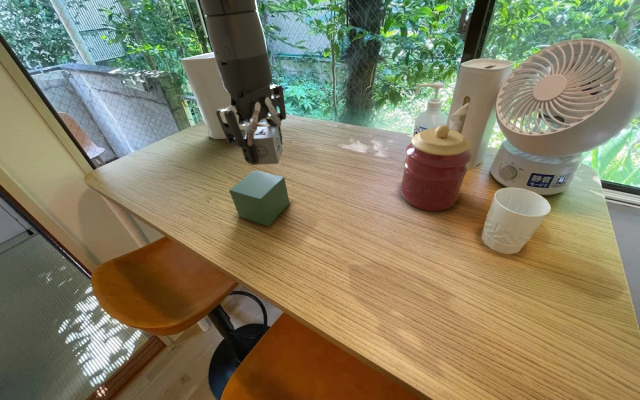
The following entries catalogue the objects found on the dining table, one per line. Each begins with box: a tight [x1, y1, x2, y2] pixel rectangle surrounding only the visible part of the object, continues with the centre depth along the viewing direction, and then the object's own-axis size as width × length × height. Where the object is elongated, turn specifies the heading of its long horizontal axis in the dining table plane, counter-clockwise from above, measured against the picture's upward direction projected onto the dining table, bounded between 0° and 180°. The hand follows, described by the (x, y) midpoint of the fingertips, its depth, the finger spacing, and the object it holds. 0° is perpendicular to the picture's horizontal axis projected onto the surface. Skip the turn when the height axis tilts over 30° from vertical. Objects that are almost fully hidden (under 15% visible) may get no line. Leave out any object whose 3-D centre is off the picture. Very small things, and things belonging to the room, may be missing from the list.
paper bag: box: [180, 51, 250, 140], centre depth 95 cm, size 19×15×28 cm
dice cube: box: [245, 125, 283, 166], centre depth 46 cm, size 5×5×5 cm
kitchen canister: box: [400, 124, 473, 212], centre depth 56 cm, size 13×13×18 cm
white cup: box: [480, 186, 552, 255], centre depth 46 cm, size 8×8×10 cm
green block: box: [228, 169, 290, 227], centre depth 60 cm, size 9×9×8 cm
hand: (266, 153), depth 47 cm, fingers closed on dice cube, 6 cm apart
